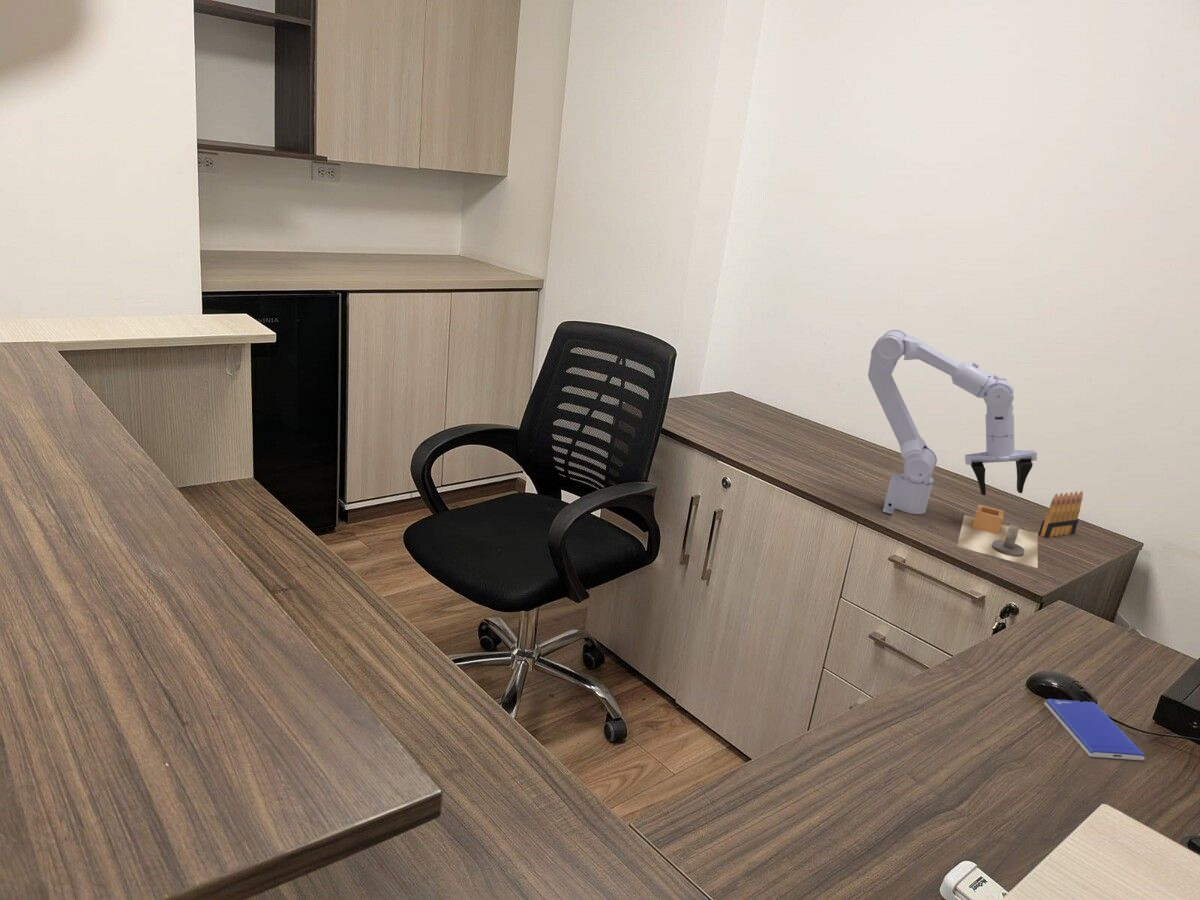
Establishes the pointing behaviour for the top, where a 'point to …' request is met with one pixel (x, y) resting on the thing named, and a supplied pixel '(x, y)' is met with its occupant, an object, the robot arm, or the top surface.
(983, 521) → the collar
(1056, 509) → the ammunition clip
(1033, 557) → the post board
